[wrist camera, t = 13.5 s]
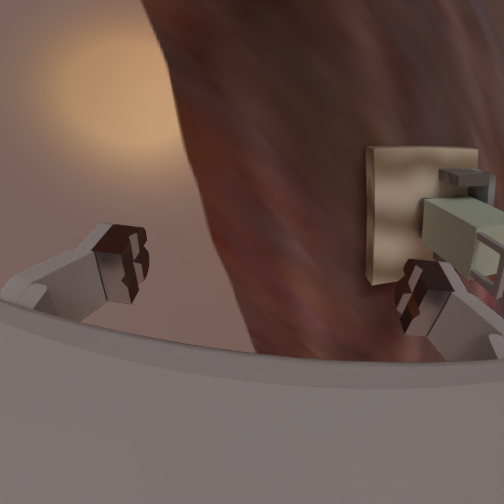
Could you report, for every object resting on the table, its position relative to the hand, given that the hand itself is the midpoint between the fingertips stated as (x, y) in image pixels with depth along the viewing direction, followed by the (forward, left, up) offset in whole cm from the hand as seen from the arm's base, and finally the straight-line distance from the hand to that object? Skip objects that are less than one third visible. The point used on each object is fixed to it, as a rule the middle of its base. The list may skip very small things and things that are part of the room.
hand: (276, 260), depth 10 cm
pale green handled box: (+7, +22, -23) cm, 33 cm away
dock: (+7, +20, -26) cm, 34 cm away
